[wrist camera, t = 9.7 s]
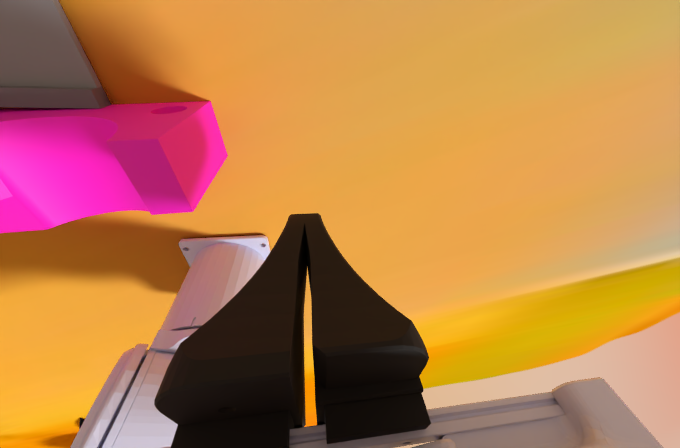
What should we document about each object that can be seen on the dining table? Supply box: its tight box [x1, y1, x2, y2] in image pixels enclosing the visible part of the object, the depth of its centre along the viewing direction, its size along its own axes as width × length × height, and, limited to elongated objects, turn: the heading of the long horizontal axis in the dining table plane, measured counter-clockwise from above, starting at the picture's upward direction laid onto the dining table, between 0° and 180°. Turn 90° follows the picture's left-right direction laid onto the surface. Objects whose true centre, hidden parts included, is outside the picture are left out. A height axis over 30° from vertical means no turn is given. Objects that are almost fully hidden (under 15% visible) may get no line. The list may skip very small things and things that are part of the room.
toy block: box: [0, 101, 228, 233], centre depth 14 cm, size 15×6×8 cm, turn 91°
